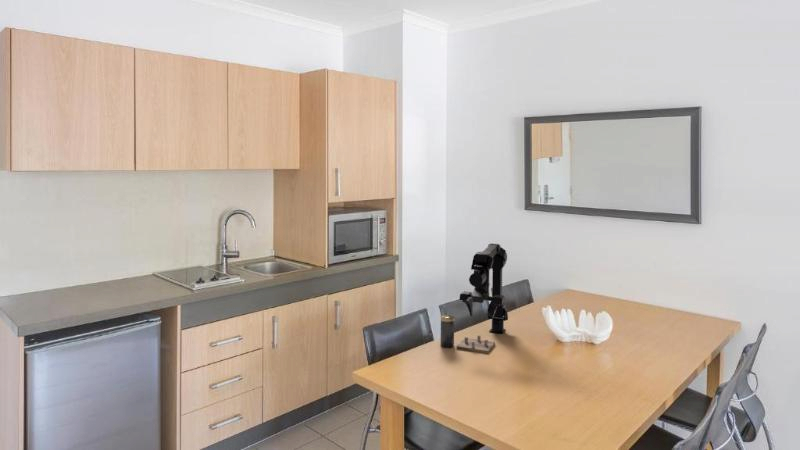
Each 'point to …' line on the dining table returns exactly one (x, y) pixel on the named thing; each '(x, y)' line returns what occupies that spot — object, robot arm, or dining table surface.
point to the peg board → (476, 345)
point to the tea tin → (447, 331)
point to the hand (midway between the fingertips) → (481, 317)
